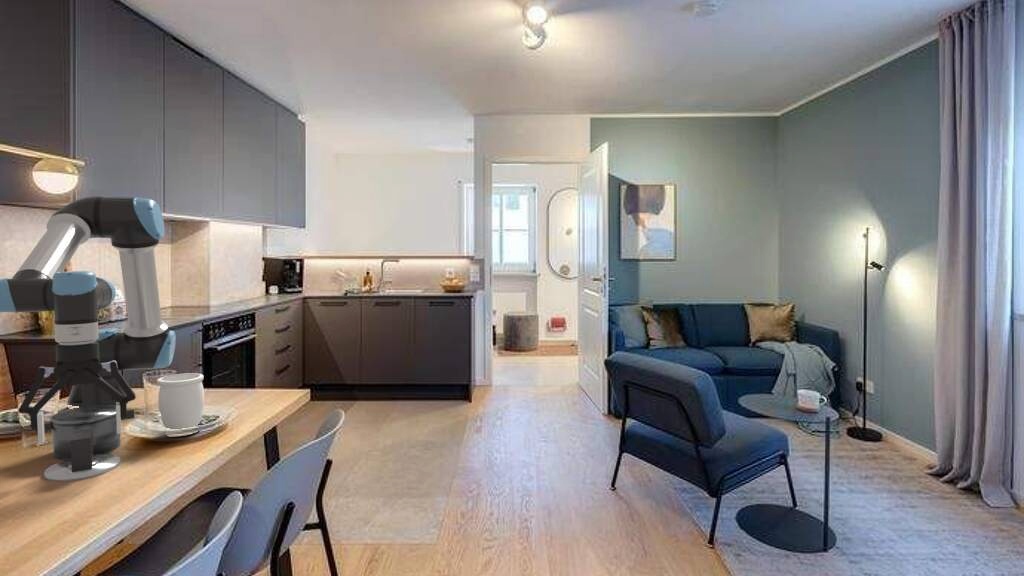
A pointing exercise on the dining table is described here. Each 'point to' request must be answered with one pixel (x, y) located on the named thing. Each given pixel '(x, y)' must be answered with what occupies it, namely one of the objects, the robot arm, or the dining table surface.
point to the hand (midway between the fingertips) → (81, 437)
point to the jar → (181, 400)
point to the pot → (85, 428)
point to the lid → (82, 460)
